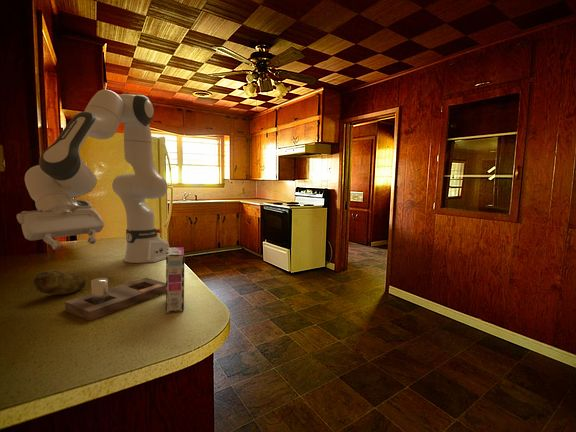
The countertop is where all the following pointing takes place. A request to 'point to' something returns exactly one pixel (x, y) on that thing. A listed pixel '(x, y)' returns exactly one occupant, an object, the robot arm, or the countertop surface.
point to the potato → (58, 282)
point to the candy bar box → (175, 279)
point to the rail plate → (116, 298)
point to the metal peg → (99, 290)
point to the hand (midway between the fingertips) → (76, 245)
